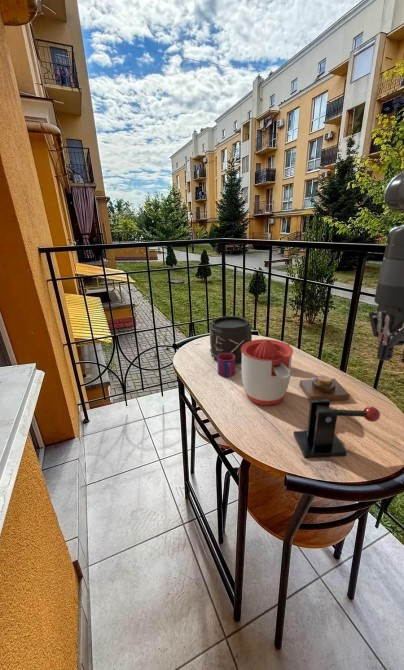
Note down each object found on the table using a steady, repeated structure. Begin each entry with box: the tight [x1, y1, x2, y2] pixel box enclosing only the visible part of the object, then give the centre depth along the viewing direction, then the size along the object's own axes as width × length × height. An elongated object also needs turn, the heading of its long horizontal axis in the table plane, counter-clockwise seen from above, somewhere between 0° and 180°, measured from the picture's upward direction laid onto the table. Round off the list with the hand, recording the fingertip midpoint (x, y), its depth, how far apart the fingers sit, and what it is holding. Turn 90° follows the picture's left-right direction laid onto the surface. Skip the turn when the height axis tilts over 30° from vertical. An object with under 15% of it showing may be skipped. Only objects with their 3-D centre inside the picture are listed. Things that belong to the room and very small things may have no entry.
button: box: [317, 374, 332, 386], centre depth 91 cm, size 4×4×2 cm
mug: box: [217, 353, 236, 378], centre depth 105 cm, size 7×10×7 cm
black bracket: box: [293, 399, 348, 459], centre depth 68 cm, size 10×8×12 cm
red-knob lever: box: [315, 405, 381, 423], centre depth 67 cm, size 15×4×4 cm, turn 91°
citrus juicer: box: [241, 338, 294, 406], centre depth 87 cm, size 16×17×20 cm
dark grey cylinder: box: [208, 315, 253, 365], centre depth 118 cm, size 18×18×16 cm
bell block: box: [299, 376, 350, 402], centre depth 91 cm, size 12×10×4 cm
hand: (383, 359), depth 62 cm, fingers closed
